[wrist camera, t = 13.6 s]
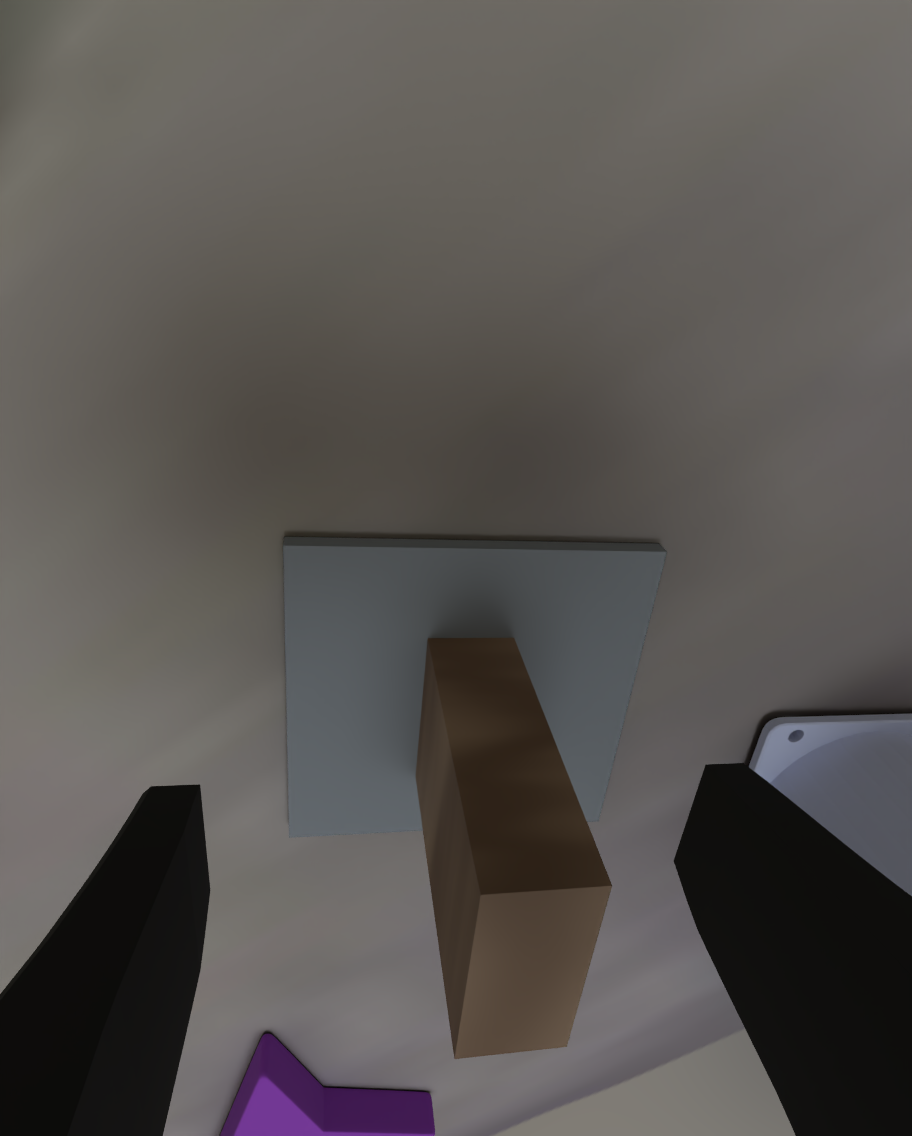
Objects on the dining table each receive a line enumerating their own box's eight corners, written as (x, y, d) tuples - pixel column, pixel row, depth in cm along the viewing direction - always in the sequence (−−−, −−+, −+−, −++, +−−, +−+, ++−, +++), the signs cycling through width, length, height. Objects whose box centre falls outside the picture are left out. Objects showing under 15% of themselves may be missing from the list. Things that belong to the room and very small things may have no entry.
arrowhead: (435, 1051, 27) (435, 1179, 32) (430, 1007, 28) (431, 1136, 33) (154, 1094, 26) (199, 1222, 30) (163, 1046, 27) (205, 1175, 32)
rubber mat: (659, 543, 20) (666, 551, 19) (593, 809, 24) (598, 821, 24) (284, 536, 18) (283, 545, 18) (289, 824, 23) (289, 837, 22)
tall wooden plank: (514, 637, 20) (612, 885, 13) (493, 773, 22) (566, 1046, 15) (427, 638, 19) (480, 895, 12) (415, 776, 22) (454, 1058, 15)
